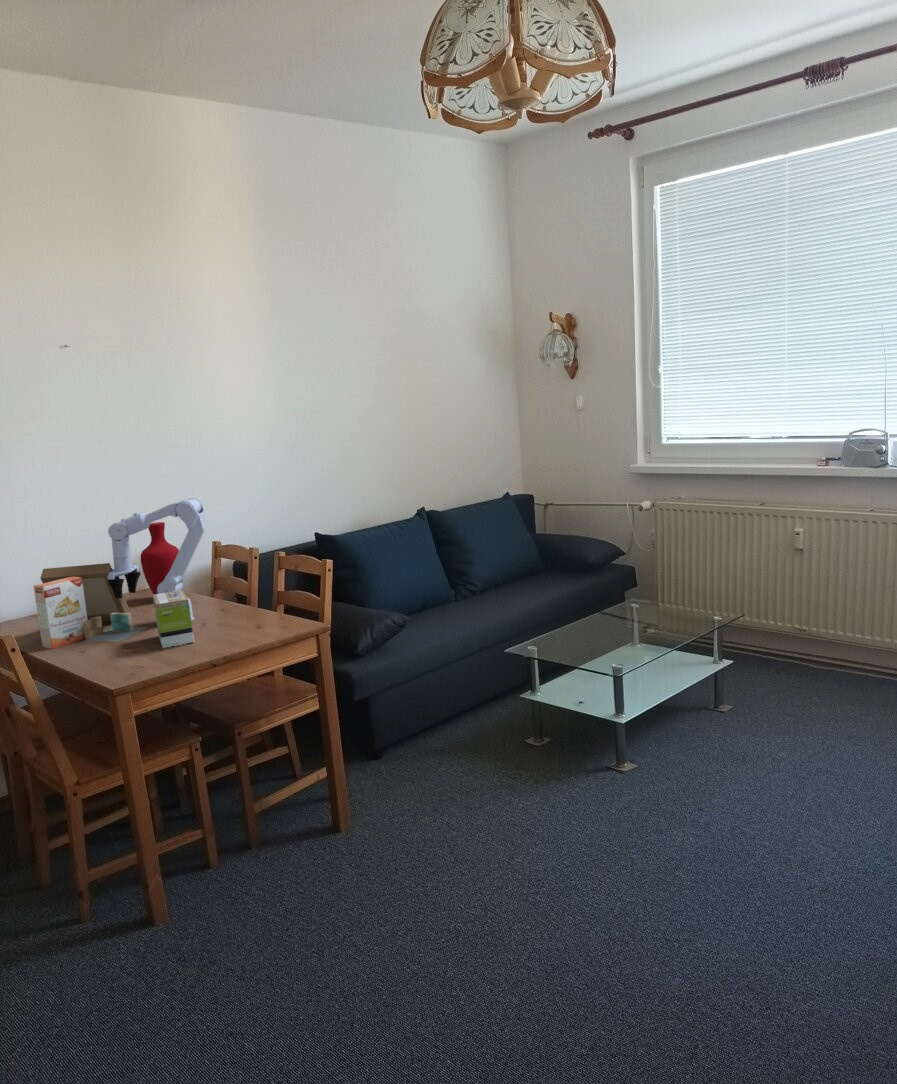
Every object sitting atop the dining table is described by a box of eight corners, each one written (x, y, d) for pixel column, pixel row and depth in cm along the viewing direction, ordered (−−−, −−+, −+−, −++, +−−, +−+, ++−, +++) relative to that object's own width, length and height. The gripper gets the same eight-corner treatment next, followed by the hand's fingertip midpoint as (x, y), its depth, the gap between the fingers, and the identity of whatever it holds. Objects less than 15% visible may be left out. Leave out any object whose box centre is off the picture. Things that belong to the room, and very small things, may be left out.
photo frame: (128, 620, 302) (105, 587, 281) (65, 626, 301) (38, 593, 279) (131, 583, 310) (109, 549, 289) (70, 589, 308) (43, 554, 287)
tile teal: (133, 629, 288) (131, 612, 287) (130, 631, 286) (127, 614, 285) (115, 629, 290) (113, 612, 288) (112, 631, 288) (109, 614, 287)
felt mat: (148, 628, 290) (148, 627, 290) (119, 642, 275) (119, 641, 275) (112, 628, 294) (112, 627, 293) (82, 642, 278) (82, 641, 278)
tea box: (157, 637, 278) (151, 593, 275) (189, 632, 281) (183, 588, 279) (161, 649, 264) (155, 603, 261) (195, 643, 268) (189, 598, 265)
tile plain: (99, 633, 286) (96, 616, 285) (103, 633, 286) (100, 616, 285) (85, 639, 280) (82, 622, 279) (89, 639, 279) (87, 622, 278)
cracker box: (53, 650, 271) (43, 586, 268) (42, 648, 275) (31, 585, 271) (91, 637, 283) (82, 576, 279) (80, 636, 286) (71, 575, 282)
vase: (138, 604, 326) (128, 527, 321) (158, 594, 340) (148, 520, 335) (174, 603, 324) (164, 525, 318) (192, 593, 338) (182, 519, 332)
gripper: (125, 552, 299) (128, 589, 301) (98, 560, 285) (102, 599, 287) (142, 553, 297) (145, 590, 299) (116, 561, 283) (120, 600, 285)
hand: (125, 595), depth 293 cm, fingers open, 7 cm apart
